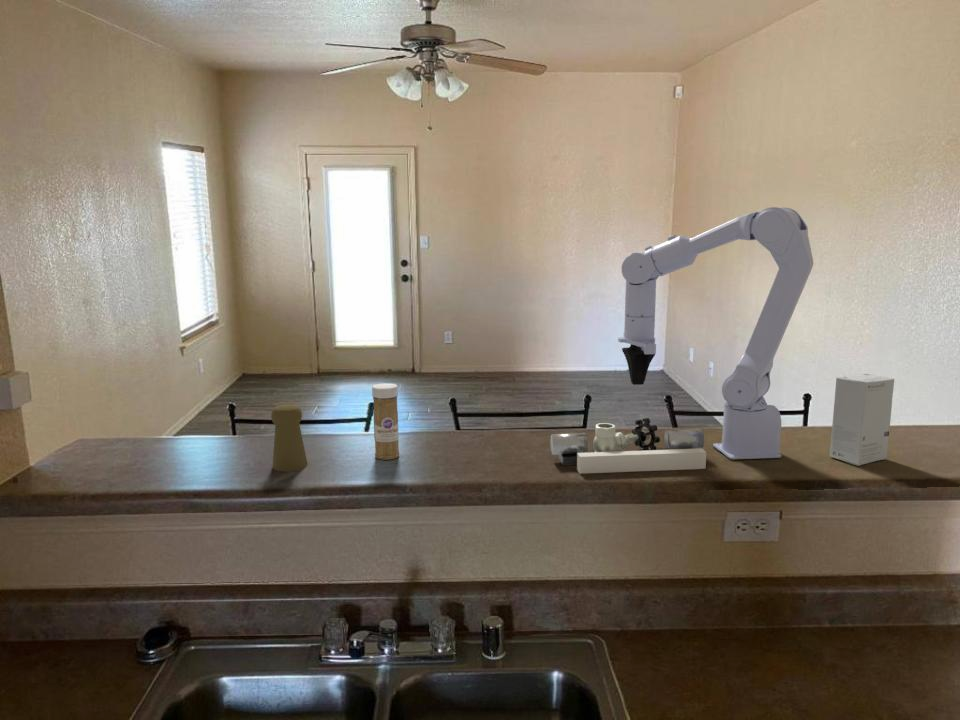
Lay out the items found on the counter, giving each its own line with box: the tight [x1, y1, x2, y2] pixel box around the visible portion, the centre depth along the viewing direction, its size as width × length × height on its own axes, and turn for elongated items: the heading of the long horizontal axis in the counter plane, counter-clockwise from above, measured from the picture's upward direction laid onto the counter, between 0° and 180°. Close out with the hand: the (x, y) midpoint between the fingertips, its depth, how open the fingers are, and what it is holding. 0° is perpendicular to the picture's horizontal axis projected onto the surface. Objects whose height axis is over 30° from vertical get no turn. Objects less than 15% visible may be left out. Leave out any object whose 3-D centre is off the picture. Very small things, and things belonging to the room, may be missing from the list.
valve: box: [592, 417, 661, 452], centre depth 125 cm, size 7×7×12 cm
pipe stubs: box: [550, 428, 705, 466], centre depth 124 cm, size 27×4×5 cm, turn 95°
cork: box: [270, 403, 309, 473], centre depth 122 cm, size 6×6×11 cm
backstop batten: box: [576, 448, 707, 475], centre depth 119 cm, size 22×2×3 cm, turn 95°
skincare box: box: [829, 373, 895, 467], centre depth 123 cm, size 8×6×15 cm
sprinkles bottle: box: [371, 382, 400, 460], centre depth 126 cm, size 5×5×13 cm
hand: (637, 383), depth 137 cm, fingers closed
